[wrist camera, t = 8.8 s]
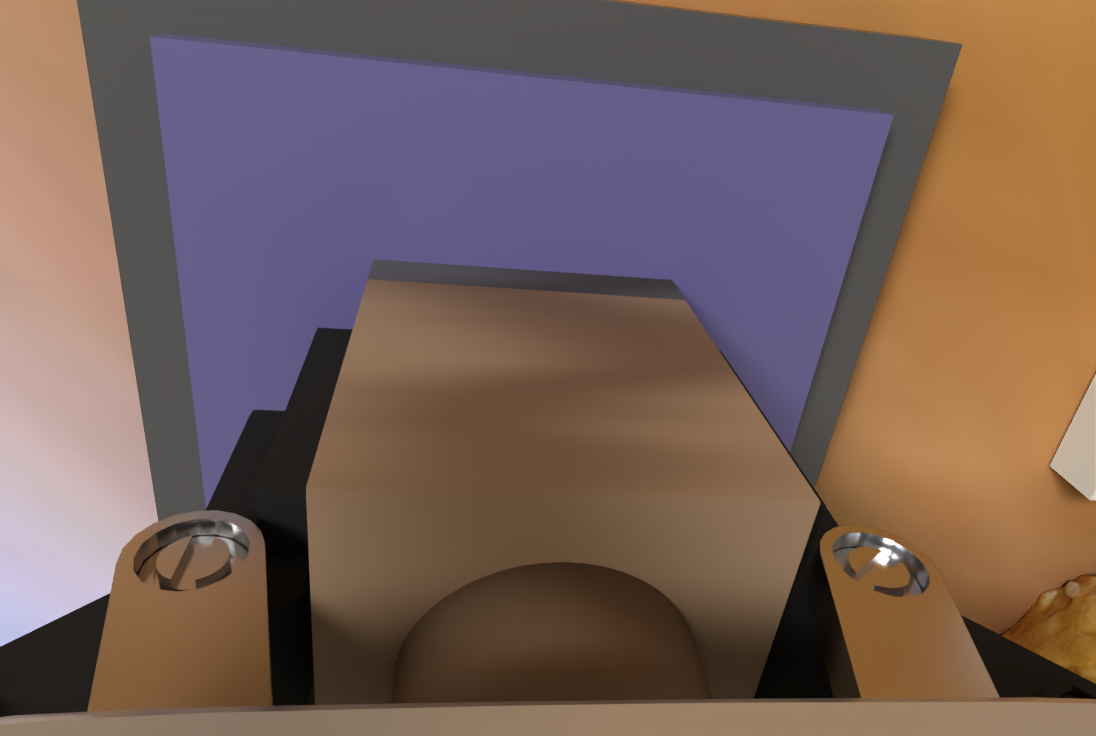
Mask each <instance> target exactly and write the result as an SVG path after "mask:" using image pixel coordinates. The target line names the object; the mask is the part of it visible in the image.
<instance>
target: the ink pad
mask: <svg viewBox="0 0 1096 736" xmlns="http://www.w3.org/2000/svg"><path fill="white" fill-rule="evenodd" d="M77 3H78V10H79V16H80V23H81V29H82V35H83V42H84V48H85V55H86V61H87V67H88V74H89V80H90V86H91V93H92V99H93V106H94V112H95V118H96V125H97V131H98V138H99V144H100V150H101V157H102V163H103V170H104V176H105V182H106V189H107V195H108V201H109V208H110V214H111V221H112V227H113V233H114V240H115V246H116V253H117V259H118V265H119V272H120V278H121V285H122V291H123V297H124V304H125V310H126V316H127V323H128V329H129V336H130V342H131V348H132V355H133V361H134V368H135V374H136V380H137V387H138V393H139V400H140V406H141V412H142V419H143V425H144V431H145V438H146V444H147V451H148V457H149V463H150V470H151V476H152V483H153V489H154V495H155V502H156V508H157V515H158V521H161V520H164V519H166V518H169V517H171V516H174V515H178V514H183V513H188V512H193V511H205V510H206V508H207V506H208V504H209V502H210V500H211V498H212V495H213V493H214V491H215V489H216V487H217V485H218V482H219V480H220V478H221V476H222V474H223V472H224V470H225V467H226V465H227V463H228V461H229V459H230V457H231V454H232V452H233V450H234V448H235V446H236V444H237V442H238V439H239V437H240V435H241V433H242V431H243V429H244V426H245V424H246V422H247V420H248V418H249V416H250V414H251V413H252V411H253V410H279V411H285V410H286V407H287V404H288V402H289V399H290V397H291V394H292V392H293V389H294V387H295V384H296V381H297V379H298V376H299V374H300V371H301V369H302V366H303V363H304V361H305V358H306V356H307V353H308V351H309V348H310V346H311V343H312V340H313V338H314V335H315V333H316V330H317V328H335V329H353V327H354V323H355V320H356V316H357V313H358V310H359V306H360V303H361V299H362V296H363V293H364V289H365V286H366V283H367V279H368V276H369V272H370V269H371V266H372V262H373V259H380V260H394V261H408V262H423V263H437V264H451V265H466V266H480V267H494V268H509V269H523V270H537V271H551V272H566V273H580V274H594V275H609V276H623V277H637V278H652V279H666V280H672V281H673V282H674V284H675V285H676V287H677V288H678V290H679V291H680V293H681V294H682V296H683V297H684V299H685V300H686V302H687V303H688V305H689V306H690V308H691V309H692V311H693V312H694V314H695V315H696V317H697V318H698V320H699V321H700V323H701V324H702V326H703V327H704V329H705V330H706V332H707V333H708V335H709V336H710V338H711V339H712V341H713V342H714V344H715V345H716V347H717V348H718V350H720V351H721V352H722V353H723V354H724V356H725V357H726V359H727V360H728V362H729V363H730V364H731V366H732V367H733V369H734V370H735V372H736V373H737V375H738V376H739V378H740V379H741V381H742V382H743V384H744V385H745V387H746V388H747V390H748V391H749V393H750V394H751V396H752V397H753V399H754V400H755V402H756V403H757V404H758V406H759V407H760V409H761V410H762V412H763V413H764V415H765V416H766V418H767V419H768V421H769V422H770V424H771V425H772V427H773V428H774V430H775V431H776V433H777V434H778V436H779V437H780V439H781V440H782V442H783V443H784V444H785V446H786V447H787V449H788V450H789V452H790V453H791V455H792V456H793V458H794V459H795V461H796V462H797V464H798V465H799V467H800V468H801V470H802V471H803V473H804V474H805V476H806V477H807V479H808V480H809V482H810V483H811V484H812V486H813V487H815V484H816V481H817V478H818V475H819V472H820V469H821V466H822V463H823V460H824V457H825V454H826V452H827V449H828V446H829V443H830V440H831V437H832V434H833V431H834V428H835V425H836V422H837V419H838V416H839V413H840V410H841V407H842V404H843V401H844V398H845V395H846V392H847V389H848V386H849V383H850V380H851V377H852V374H853V371H854V368H855V365H856V362H857V359H858V356H859V353H860V350H861V347H862V344H863V341H864V338H865V335H866V332H867V329H868V326H869V323H870V320H871V317H872V314H873V311H874V308H875V305H876V302H877V299H878V296H879V293H880V290H881V287H882V284H883V281H884V278H885V275H886V272H887V269H888V266H889V263H890V260H891V257H892V254H893V251H894V248H895V245H896V242H897V239H898V236H899V233H900V230H901V227H902V224H903V221H904V218H905V215H906V212H907V209H908V206H909V203H910V200H911V197H912V194H913V191H914V188H915V185H916V182H917V179H918V176H919V173H920V170H921V167H922V164H923V161H924V158H925V155H926V152H927V149H928V146H929V143H930V140H931V137H932V134H933V131H934V128H935V125H936V122H937V119H938V116H939V113H940V110H941V107H942V104H943V101H944V98H945V95H946V92H947V89H948V86H949V83H950V80H951V77H952V74H953V71H954V68H955V65H956V62H957V59H958V56H959V53H960V50H961V47H962V44H958V43H951V42H945V41H939V40H932V39H926V38H920V37H912V36H904V35H896V34H887V33H879V32H871V31H863V30H855V29H847V28H838V27H830V26H822V25H814V24H806V23H797V22H789V21H781V20H773V19H765V18H756V17H748V16H740V15H732V14H724V13H715V12H707V11H699V10H691V9H683V8H674V7H666V6H658V5H650V4H642V3H633V2H625V1H617V0H77Z"/></svg>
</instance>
